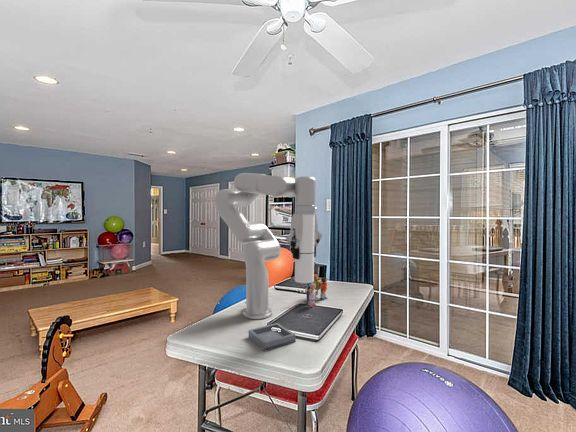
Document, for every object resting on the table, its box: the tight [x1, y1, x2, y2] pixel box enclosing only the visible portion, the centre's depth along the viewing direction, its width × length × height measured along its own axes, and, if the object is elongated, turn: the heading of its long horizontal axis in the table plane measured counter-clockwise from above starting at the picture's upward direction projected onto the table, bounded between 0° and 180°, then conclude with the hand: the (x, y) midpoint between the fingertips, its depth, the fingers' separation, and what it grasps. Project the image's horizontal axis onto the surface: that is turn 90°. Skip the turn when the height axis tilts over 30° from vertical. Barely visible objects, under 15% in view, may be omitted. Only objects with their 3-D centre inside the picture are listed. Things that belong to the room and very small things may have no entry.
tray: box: [248, 322, 296, 352], centre depth 104 cm, size 12×12×2 cm
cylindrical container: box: [294, 213, 316, 284], centre depth 111 cm, size 7×7×25 cm
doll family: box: [304, 273, 328, 309], centre depth 144 cm, size 21×10×13 cm, turn 151°
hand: (304, 257), depth 111 cm, fingers closed on cylindrical container, 7 cm apart
